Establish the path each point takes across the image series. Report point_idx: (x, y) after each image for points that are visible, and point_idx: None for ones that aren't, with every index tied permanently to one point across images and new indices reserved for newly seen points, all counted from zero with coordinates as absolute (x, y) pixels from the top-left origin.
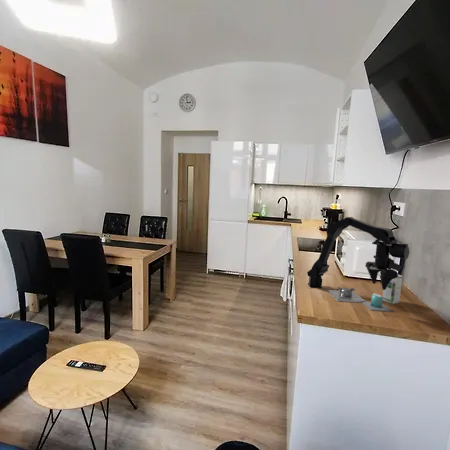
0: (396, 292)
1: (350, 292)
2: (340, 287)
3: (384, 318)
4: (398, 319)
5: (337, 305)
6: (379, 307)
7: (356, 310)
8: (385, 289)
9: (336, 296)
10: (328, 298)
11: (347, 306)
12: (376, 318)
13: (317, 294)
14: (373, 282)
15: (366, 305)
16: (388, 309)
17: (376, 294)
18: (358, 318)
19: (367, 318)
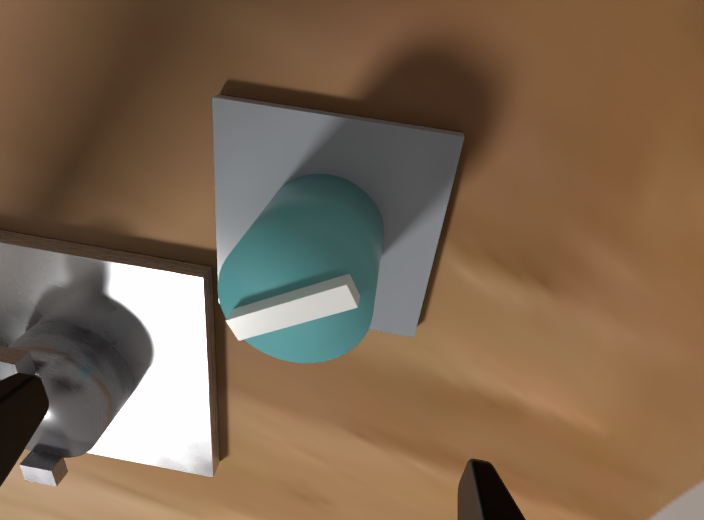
0: None
1: (96, 400)
2: (26, 467)
3: (612, 330)
4: (687, 203)
5: (308, 498)
6: (383, 235)
7: (406, 438)
8: (495, 471)
9: (146, 453)
10: (172, 483)
11: (324, 452)
12: (589, 394)
13: (106, 505)
14: (31, 426)
15: None
16: (438, 150)
17: (278, 319)
18: (551, 502)
19: (568, 453)
